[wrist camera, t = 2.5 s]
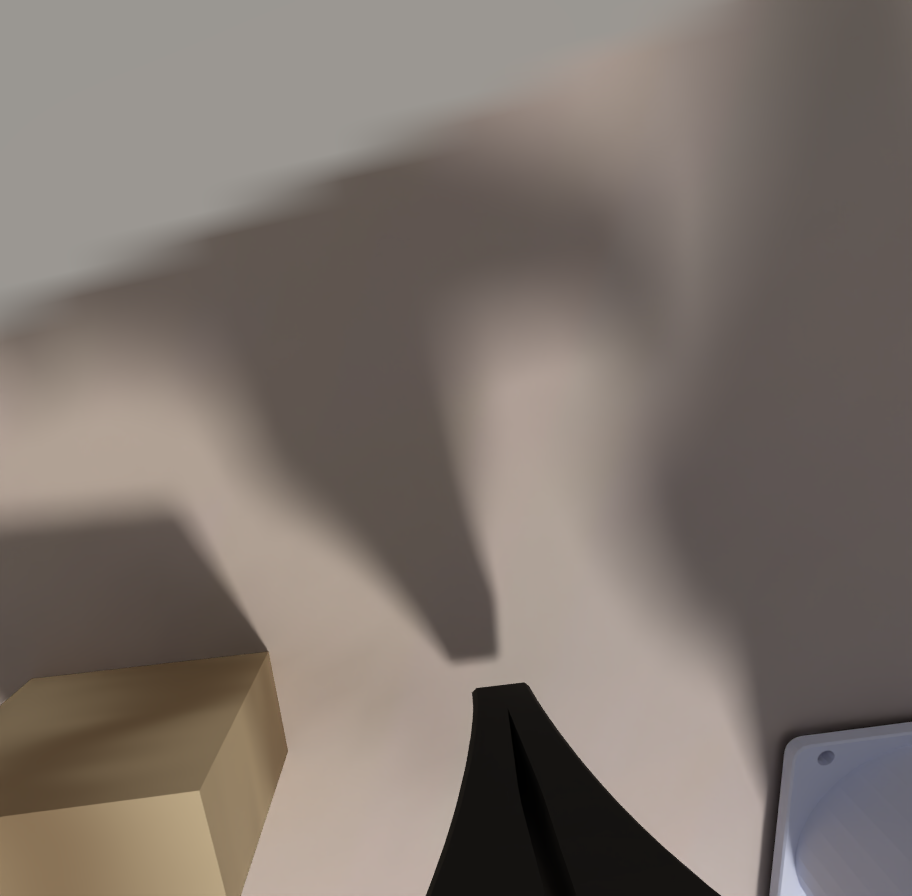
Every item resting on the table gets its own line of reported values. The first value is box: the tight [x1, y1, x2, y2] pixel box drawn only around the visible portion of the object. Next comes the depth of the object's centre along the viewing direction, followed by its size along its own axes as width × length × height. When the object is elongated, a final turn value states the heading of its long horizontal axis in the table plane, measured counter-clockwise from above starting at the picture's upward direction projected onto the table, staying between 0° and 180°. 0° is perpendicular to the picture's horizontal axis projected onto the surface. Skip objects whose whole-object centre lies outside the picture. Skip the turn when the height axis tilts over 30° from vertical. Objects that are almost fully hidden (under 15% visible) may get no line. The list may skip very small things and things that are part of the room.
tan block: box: [0, 652, 288, 896], centre depth 10 cm, size 6×3×4 cm, turn 94°
